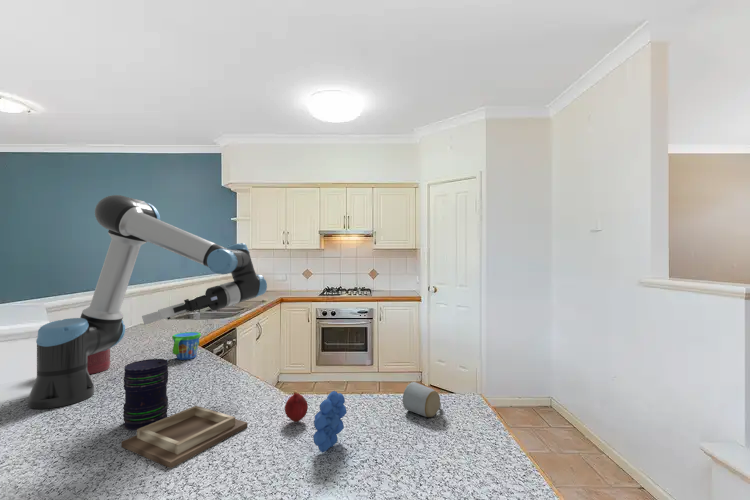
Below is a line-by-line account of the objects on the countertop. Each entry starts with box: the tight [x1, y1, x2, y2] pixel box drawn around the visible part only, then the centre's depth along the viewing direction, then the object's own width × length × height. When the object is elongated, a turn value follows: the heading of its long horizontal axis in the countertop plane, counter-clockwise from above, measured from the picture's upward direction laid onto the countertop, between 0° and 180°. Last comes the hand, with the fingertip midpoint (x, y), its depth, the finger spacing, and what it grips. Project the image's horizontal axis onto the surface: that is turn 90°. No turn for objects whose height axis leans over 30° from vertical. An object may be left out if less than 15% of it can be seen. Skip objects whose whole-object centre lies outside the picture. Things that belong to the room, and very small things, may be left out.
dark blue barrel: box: [122, 358, 169, 431], centre depth 94 cm, size 10×10×15 cm
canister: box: [87, 348, 112, 375], centre depth 137 cm, size 13×13×18 cm
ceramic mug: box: [402, 381, 442, 418], centre depth 100 cm, size 11×8×8 cm
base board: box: [120, 405, 249, 469], centre depth 86 cm, size 18×20×3 cm
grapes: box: [312, 390, 348, 453], centre depth 82 cm, size 12×7×12 cm, turn 154°
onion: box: [284, 390, 309, 423], centre depth 94 cm, size 6×6×8 cm
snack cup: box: [171, 331, 202, 361], centre depth 154 cm, size 16×10×10 cm
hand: (151, 317), depth 101 cm, fingers open, 13 cm apart
